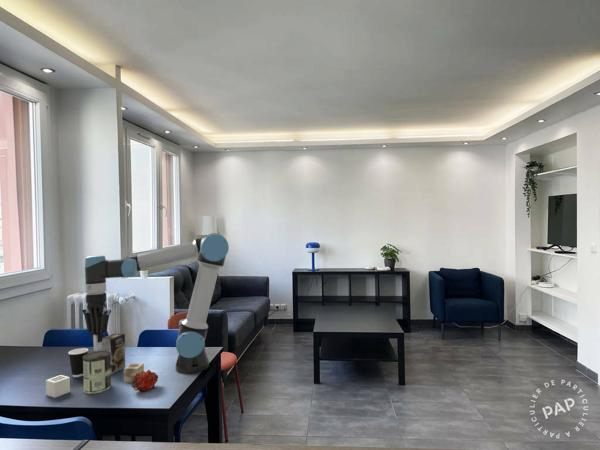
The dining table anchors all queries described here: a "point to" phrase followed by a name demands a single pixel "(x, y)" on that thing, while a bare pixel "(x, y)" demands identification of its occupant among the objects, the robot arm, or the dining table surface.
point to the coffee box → (115, 350)
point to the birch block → (132, 371)
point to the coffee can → (97, 372)
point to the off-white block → (57, 386)
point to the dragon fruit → (144, 380)
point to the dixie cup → (77, 361)
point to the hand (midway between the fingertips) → (97, 349)
